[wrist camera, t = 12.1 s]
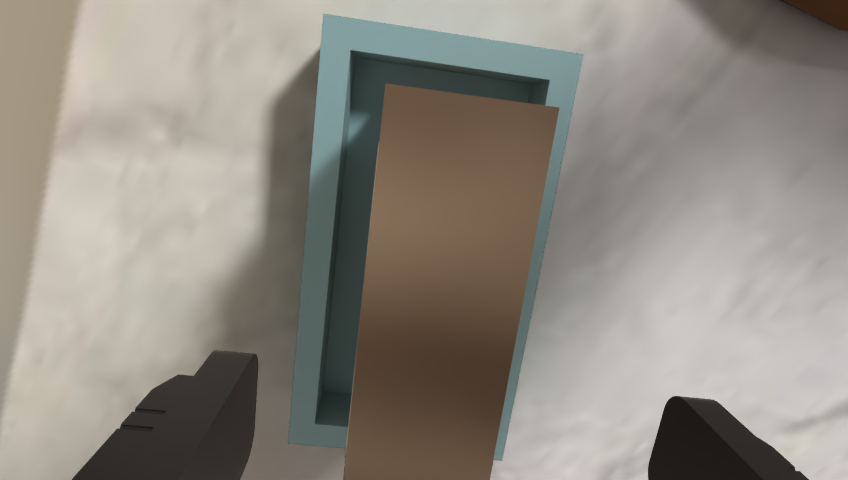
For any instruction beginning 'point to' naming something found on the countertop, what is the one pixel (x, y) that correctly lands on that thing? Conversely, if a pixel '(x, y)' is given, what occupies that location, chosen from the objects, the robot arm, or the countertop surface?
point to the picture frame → (444, 281)
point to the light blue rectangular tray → (354, 181)
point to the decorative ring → (825, 10)
